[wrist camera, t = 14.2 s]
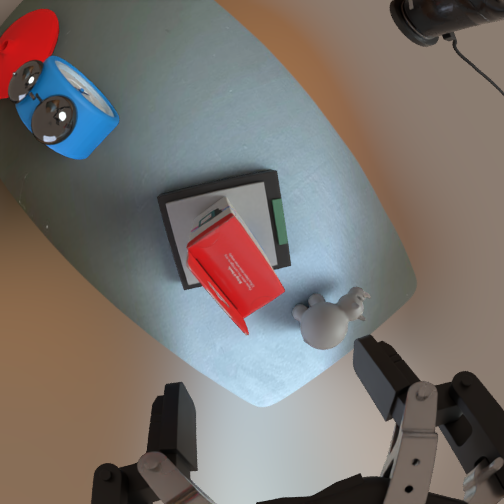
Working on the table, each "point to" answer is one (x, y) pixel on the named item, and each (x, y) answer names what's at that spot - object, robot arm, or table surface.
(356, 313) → the round bodied animal figurine
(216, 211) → the ink box
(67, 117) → the alarm clock
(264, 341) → the table surface
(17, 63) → the flat cone with hole
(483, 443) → the robot arm
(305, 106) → the table surface
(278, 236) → the scale
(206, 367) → the table surface
